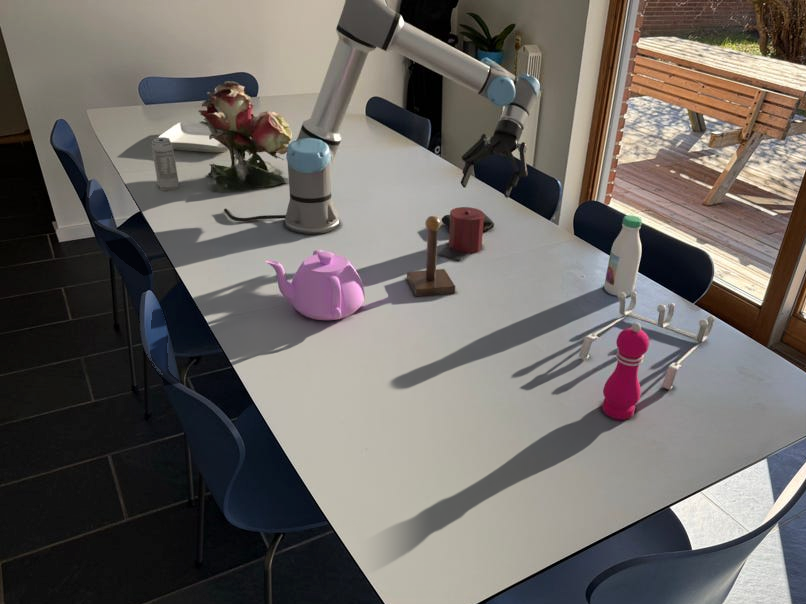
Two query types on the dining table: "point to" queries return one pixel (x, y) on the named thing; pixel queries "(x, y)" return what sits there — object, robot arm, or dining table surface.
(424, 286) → the hat stand
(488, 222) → the carrying case
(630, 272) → the milk bottle
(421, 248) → the dining table surface
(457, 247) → the cap
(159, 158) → the energy drink can
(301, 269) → the teapot
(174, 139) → the square plate
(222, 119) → the rose bouquet
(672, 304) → the over door rack
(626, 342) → the pepper mill
